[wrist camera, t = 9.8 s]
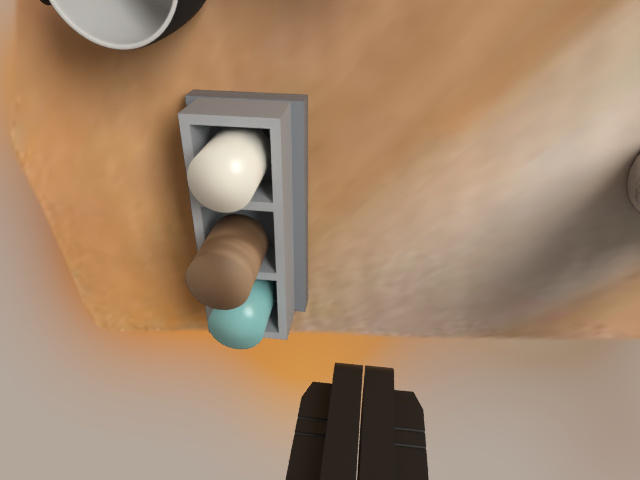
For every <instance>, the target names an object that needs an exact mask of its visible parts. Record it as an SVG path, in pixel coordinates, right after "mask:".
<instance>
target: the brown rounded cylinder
mask: <svg viewBox="0 0 640 480" xmlns="http://www.w3.org/2000/svg"><path fill="white" fill-rule="evenodd" d="M268 246H269V239H268V235H267V233H266V231H265V229H264V228H263V226H262V225H261V224H260V223H259V222H257V221H256V220H255V219H253V218H251V217H249V216H246V215H242V214H230V215H226V216H224V217H222V218H221V219H219V220H218V221H217V222H216V224H215V225H214V227H213V228H212V230H211V232H210V233H209V235H208V236H207V238H206V240H205V241H204V243H203V244H202V246H201V248H200V249H199V251H198V252H197V254H196V256H195V257H194V259H193V260H192V262H191V264H190V265H189V267H188V269H187V271H186V276H185V280H186V285H187V287H188V289H189V291H190V293H191V294H192V295H193V296H194V298H196V299H197V300H198V301H199V302H201V303H202V304H204V305H206V306H208V307H210V308H214V309H218V310H230V309H234V308H237V307H239V306H241V305H242V304H244V303H245V302H246V300H247V299H248V297H249V295H250V292H251V290H252V287H253V285H254V282H255V280H256V277H257V275H258V272H259V270H260V267H261V265H262V262H263V260H264V257H265V255H266V252H267V250H268Z"/></svg>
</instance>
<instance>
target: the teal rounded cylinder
mask: <svg viewBox="0 0 640 480" xmlns="http://www.w3.org/2000/svg"><path fill="white" fill-rule="evenodd" d="M276 295H277V281H273V280H261V279H256V280H255V282H254V285H253V287H252V290H251V292H250V295H249V297H248V299H247V300H246V302H245V303H244V304H242V305H241V306H239V307H237V308H234V309H230V310H218V309H214V308H213V310H212V312H211V314H210V317H209V319H208V327H209V330H210V332H211V334H212V335H213V337H214V338H215V339H216V340H217V341H219V342H220V343H221V344H223V345H225V346H227V347H230V348H234V349H248V348H252V347H254V346H256V345H257V344H258V343H259V342H260V341H261V340H262V338H263V335H264V332H265V329H266V326H267V322H268V319H269V316H270V313H271V310H272V307H273V304H274V301H275V298H276Z"/></svg>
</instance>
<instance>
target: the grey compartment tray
mask: <svg viewBox="0 0 640 480" xmlns="http://www.w3.org/2000/svg"><path fill="white" fill-rule="evenodd" d="M185 99H186V107H185V108H184V109H183V110H182V111H180V112H179V113H178V118H179V125H180V132H181V139H182V146H183V153H184V160H185V167H186V174H187V171H188V167H189V165H190V163H191V161H192V160H193V159H194V157H195V156H196V155H197V154H198V153H199V152H200V151H201V150H202V149H203V148H204V147H205V146H206V144H207V143H208V142H209V141H210V140H211V139H212V138H213V137H214V136H215V135H216V134H217V133H218V131H219V130H220V129H221V128H222V127H223V126H228V127H248V128H260V129H261V130H263V131H264V133H265V134H266V135H267V137H268V138H269V140H270V142H271V163H270V165H269V167H268V169H267V171H266V173H265V175H264V176H263V178H262V180H261V182H260V184H259V186H258V187H257V189H256V191H255V193H254V195H253V197H252V198H251V200H250V202H249V203H248V204H247V205H246V206H245V207H243V208H242V209H240V210H238V211H235V212H229V213H223V212H217V211H214V210H211V209H209V208H207V207H205V206H204V205H203V204H201V203H200V202H199V201H198V200H197V199H196V198H195V197H194V195H193V194H192V192H191V190H190V188H189V185H188V188H189V195H190V202H191V209H192V216H193V223H194V230H195V237H196V244H197V251H199V249H200V248H201V246H202V244H203V243H204V241H205V240H206V238H207V236H208V235H209V233H210V232H211V230H212V228H213V227H214V225H215V224H216V222H217V221H218V220H219V219H221V218H222V217H224V216H226V215H230V214H242V215H246V216H249V217H251V218H253V219H255V220H256V221H257V222H259V223H260V224H261V225H262V226H263V228H264V229H265V231H266V233H267V235H268V239H269V246H268V250H267V252H266V255H265V257H264V260H263V262H262V265H261V267H260V270H259V272H258V275H257V277H256V279H261V280H273V281H277V295H276V298H275V301H274V304H273V307H272V310H271V313H270V316H269V319H268V322H267V326H266V329H265V332H264V335H263V338H274V339H283V340H287V338H288V335H289V331H290V327H291V323H292V319H293V315H294V311H301V312H305V310H306V306H307V302H308V95H300V94H278V93H256V92H234V91H211V90H192V91H191V92H189V93H188V94H187V95H185ZM205 307H206V314H207V321H208V319H209V317H210V314H211V312H212V310H213V308H210V307H208V306H206V305H205ZM208 328H209V327H208ZM209 332H210V330H209ZM210 333H211V332H210Z"/></svg>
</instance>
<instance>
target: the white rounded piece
mask: <svg viewBox="0 0 640 480" xmlns="http://www.w3.org/2000/svg"><path fill="white" fill-rule="evenodd" d="M270 163H271V142H270V140H269V138H268V137H267V135H266V134H265V133H264V131H263V130H261V129H260V128H248V127H228V126H223V127H222V128H221V129H220V130H219V131H218V133H217V134H216V135H215V136H214V137H213V138H212V139H211V140H210V141H209V142H208V143H207V144H206V146H205V147H204V148H203V149H202V150H201V151H200V152H199V153H198V154H197V155H196V156H195V157H194V159H193V160H192V161H191V163H190V165H189V167H188V171H187V181H188V185H189V188H190V190H191V192H192V194H193V195H194V197H195V198H196V199H197V200H198V201H199V202H200V203H201V204H203V205H204V206H205V207H207V208H209V209H211V210H214V211H217V212H223V213H229V212H235V211H238V210H240V209H242V208H243V207H245V206H246V205H247V204H248V203H249V202H250V200H251V198H252V197H253V195H254V193H255V191H256V189H257V187H258V186H259V184H260V182H261V180H262V178H263V176H264V175H265V173H266V171H267V169H268V167H269V165H270Z"/></svg>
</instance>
